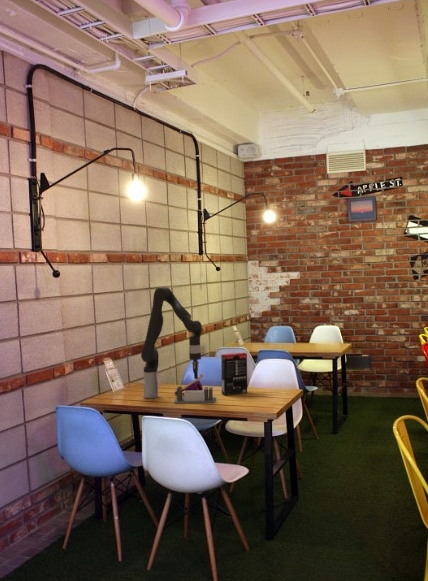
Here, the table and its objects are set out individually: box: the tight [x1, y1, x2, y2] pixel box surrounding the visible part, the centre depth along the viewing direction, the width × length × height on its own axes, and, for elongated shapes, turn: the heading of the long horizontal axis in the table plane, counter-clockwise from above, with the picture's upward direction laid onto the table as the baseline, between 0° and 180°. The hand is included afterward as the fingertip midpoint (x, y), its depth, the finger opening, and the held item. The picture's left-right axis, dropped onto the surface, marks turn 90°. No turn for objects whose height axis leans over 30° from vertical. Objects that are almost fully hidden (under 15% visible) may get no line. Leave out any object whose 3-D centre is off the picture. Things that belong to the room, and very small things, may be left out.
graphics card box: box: [220, 352, 248, 396], centre depth 388 cm, size 17×7×27 cm, turn 115°
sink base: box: [173, 385, 217, 404], centre depth 370 cm, size 26×13×9 cm, turn 86°
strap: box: [181, 373, 204, 391], centre depth 370 cm, size 19×3×2 cm
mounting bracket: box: [174, 379, 204, 396], centre depth 390 cm, size 10×8×18 cm
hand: (196, 378), depth 370 cm, fingers closed
